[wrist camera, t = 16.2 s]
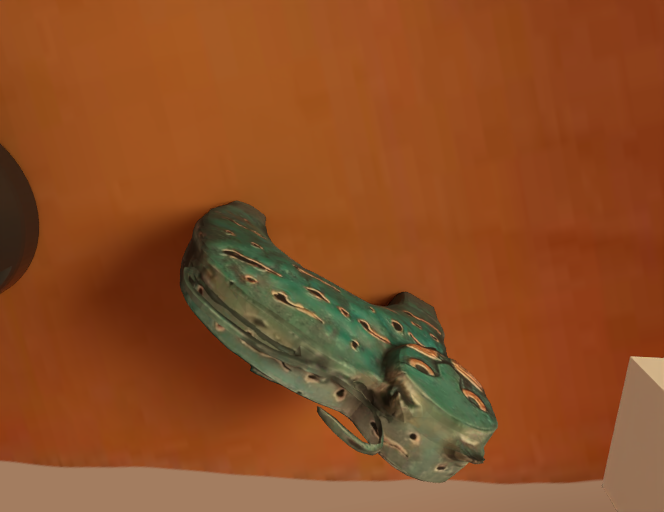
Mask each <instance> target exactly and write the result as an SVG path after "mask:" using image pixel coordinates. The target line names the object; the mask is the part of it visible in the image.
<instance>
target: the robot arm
mask: <svg viewBox="0 0 664 512" xmlns="http://www.w3.org/2000/svg"><path fill="white" fill-rule="evenodd" d="M38 235H39V219H38V211H37V206H36V202H35V198H34V195H33V192H32V190H31V187H30V185H29V183H28V181H27V179H26V177H25V175H24V173H23V171H22V170H21V168H20V167H19V165H18V164H17V162H16V161H15V160H14V158H13V157H12V156H11V155H10V153H9V152H8V151H7V150H6V149H5V148H4V147H3V146H2V145H1V144H0V293H2V292H4V291H5V290H7V289H8V288H10V287H11V286H12V285H14V284H15V283H16V282H17V281H18V280H19V279H20V278H21V277H22V275H23V274H24V273H25V272H26V270H27V269H28V267H29V265H30V263H31V261H32V259H33V257H34V254H35V251H36V247H37V243H38ZM602 487H603V489H604V490H605V492H606V494H607V495H608V497H609V499H610V500H611V502H612V504H613V506H614V507H615V509H616V511H617V512H664V358H650V357H631V356H630V360H629V365H628V369H627V374H626V379H625V383H624V388H623V392H622V397H621V401H620V406H619V410H618V415H617V420H616V424H615V429H614V433H613V438H612V442H611V447H610V451H609V456H608V461H607V465H606V470H605V474H604V479H603V484H602Z"/></svg>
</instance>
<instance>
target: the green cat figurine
mask: <svg viewBox="0 0 664 512" xmlns="http://www.w3.org/2000/svg"><path fill="white" fill-rule="evenodd" d="M265 221H266V217H265V215H264V214H262V213H261V212H260V211H258V210H257V209H255V208H254V207H252V206H250V205H249V204H246V203H243V202H240V201H234V202H232V203H229V204H227V205H223V206H219V207H216V208H212V209H211V210H210V211H209V212H208V213H207V214H205V215H204V216H203V217H202V218H201V219H199V220H198V221H197V223H196V225H195V227H194V229H193V235H192V239H191V241H190V243H189V244H188V246H187V248H186V251H185V253H184V256H183V258H182V263H181V269H180V287H181V291H182V293H183V296H184V298H185V300H186V302H187V303H188V305H189V307H190V308H191V310H192V311H193V312H194V313H195V315H196V316H197V317H198V318H199V319H200V320H201V322H202V323H203V324H204V325H205V326H206V327H207V329H208V330H209V331H210V332H211V333H212V334H213V335H214V336H215V337H216V338H217V339H218V340H219V341H220V342H221V343H223V344H224V345H225V346H226V347H227V348H228V349H229V350H231V351H232V352H234V353H235V354H236V355H238V356H239V357H241V358H242V359H243V360H245V361H246V362H247V363H249V364H250V366H251V370H250V371H252V372H253V373H255V374H257V375H259V376H261V377H263V378H265V379H267V380H269V381H272V382H274V383H277V384H280V385H282V386H284V387H286V388H287V389H289V390H291V391H293V392H295V393H297V394H299V395H301V396H303V397H305V398H307V399H309V400H311V401H313V402H316V403H318V404H321V405H323V406H326V407H329V408H331V409H334V410H336V411H339V412H340V413H342V414H343V415H345V416H346V417H347V418H349V419H350V420H351V421H352V422H353V424H354V425H355V426H356V428H357V429H358V430H359V431H360V433H361V434H362V435H363V436H364V438H365V439H366V440H367V441H368V443H369V444H368V443H365V442H362V441H361V440H360V439H358V438H357V437H356V436H355V435H353V434H352V433H351V432H350V431H349V430H347V429H346V428H345V427H344V426H343V425H342V424H341V423H340V422H339V421H338V420H337V419H336V418H335V417H333V416H332V415H330V414H329V413H327V412H326V411H324V410H323V409H322V408H320V407H318V406H317V412H318V414H319V416H320V417H321V418H322V420H323V421H324V422H325V423H326V425H327V426H328V427H329V428H330V429H331V430H332V431H333V432H334V433H335V434H336V435H337V436H338V437H339V438H340V439H342V440H343V441H344V442H345V443H346V444H348V445H349V446H350V447H352V448H353V449H355V450H356V451H358V452H361V453H364V454H368V455H374V454H377V453H378V454H379V455H380V456H381V457H382V458H383V459H384V460H386V461H387V462H388V463H389V464H390V465H392V466H393V467H394V468H396V469H397V470H399V471H401V472H402V473H404V474H405V475H407V476H410V477H413V478H415V479H418V480H421V481H427V482H433V483H441V482H445V481H446V480H448V479H449V478H450V477H452V476H453V475H454V474H456V473H457V472H458V471H459V470H461V469H462V468H463V467H464V466H465V465H466V464H468V463H469V462H470V463H473V464H480V463H483V461H484V460H485V459H484V458H483V457H484V446H485V445H486V443H487V442H488V440H489V439H490V437H491V436H492V434H493V433H494V431H495V430H496V429H497V426H498V423H497V420H496V417H495V414H494V412H493V409H492V406H491V404H490V402H489V400H488V399H487V397H486V395H485V392H484V389H483V388H482V386H481V384H480V383H479V382H478V381H477V379H476V378H475V377H474V376H473V375H472V374H471V373H469V372H468V371H467V370H466V369H465V368H463V367H462V366H461V365H460V364H459V363H458V362H456V361H455V360H453V359H450V358H448V356H447V353H446V347H445V345H444V336H445V335H444V331H443V329H442V327H441V325H440V323H439V321H438V319H437V316H436V312H435V309H434V307H432V306H431V305H429V304H427V303H425V302H424V301H422V300H420V299H419V298H417V297H415V296H414V295H412V294H410V293H408V292H402V293H400V294H398V295H397V296H396V297H395V298H394V299H393V300H392V301H391V302H390V303H389V305H388V306H378V305H374V304H370V303H368V302H366V301H364V300H362V299H360V298H358V297H357V296H355V295H353V294H351V293H349V292H348V291H346V290H344V289H342V288H341V287H339V286H337V285H336V284H334V283H332V282H330V281H328V280H326V279H325V278H323V277H321V276H319V275H317V274H315V273H314V272H311V271H309V270H307V269H305V268H303V267H302V266H301V265H300V264H298V263H297V262H295V261H294V260H293V259H291V258H290V257H288V256H287V255H286V254H285V253H283V252H282V251H281V250H279V249H278V248H277V247H276V246H275V245H274V244H273V243H272V242H271V240H270V238H269V236H268V234H267V229H266V226H265Z"/></svg>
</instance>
